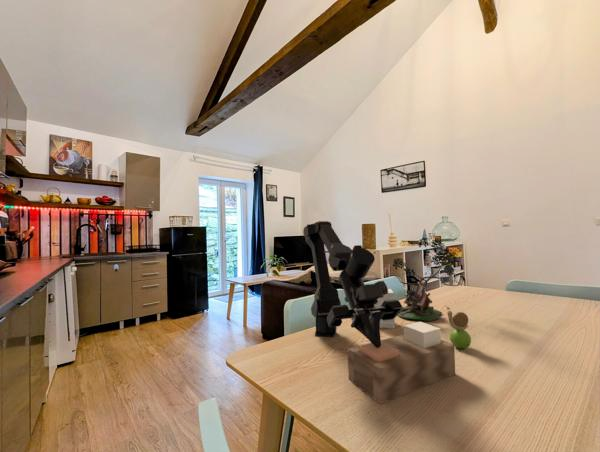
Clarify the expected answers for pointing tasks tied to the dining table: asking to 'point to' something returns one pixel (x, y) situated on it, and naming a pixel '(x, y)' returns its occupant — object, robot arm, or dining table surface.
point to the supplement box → (380, 300)
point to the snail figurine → (459, 329)
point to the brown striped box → (401, 368)
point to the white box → (422, 334)
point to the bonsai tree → (420, 301)
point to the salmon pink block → (379, 352)
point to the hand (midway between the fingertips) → (378, 346)
